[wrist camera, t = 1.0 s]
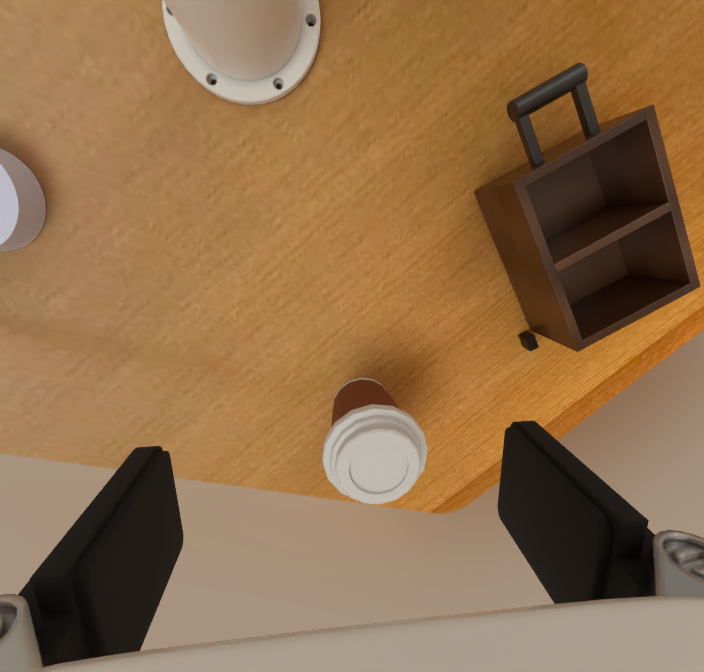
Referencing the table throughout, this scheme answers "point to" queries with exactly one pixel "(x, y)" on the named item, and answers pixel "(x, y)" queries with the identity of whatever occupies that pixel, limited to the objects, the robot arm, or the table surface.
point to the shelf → (589, 221)
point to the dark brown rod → (528, 341)
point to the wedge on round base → (19, 204)
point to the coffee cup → (372, 444)
